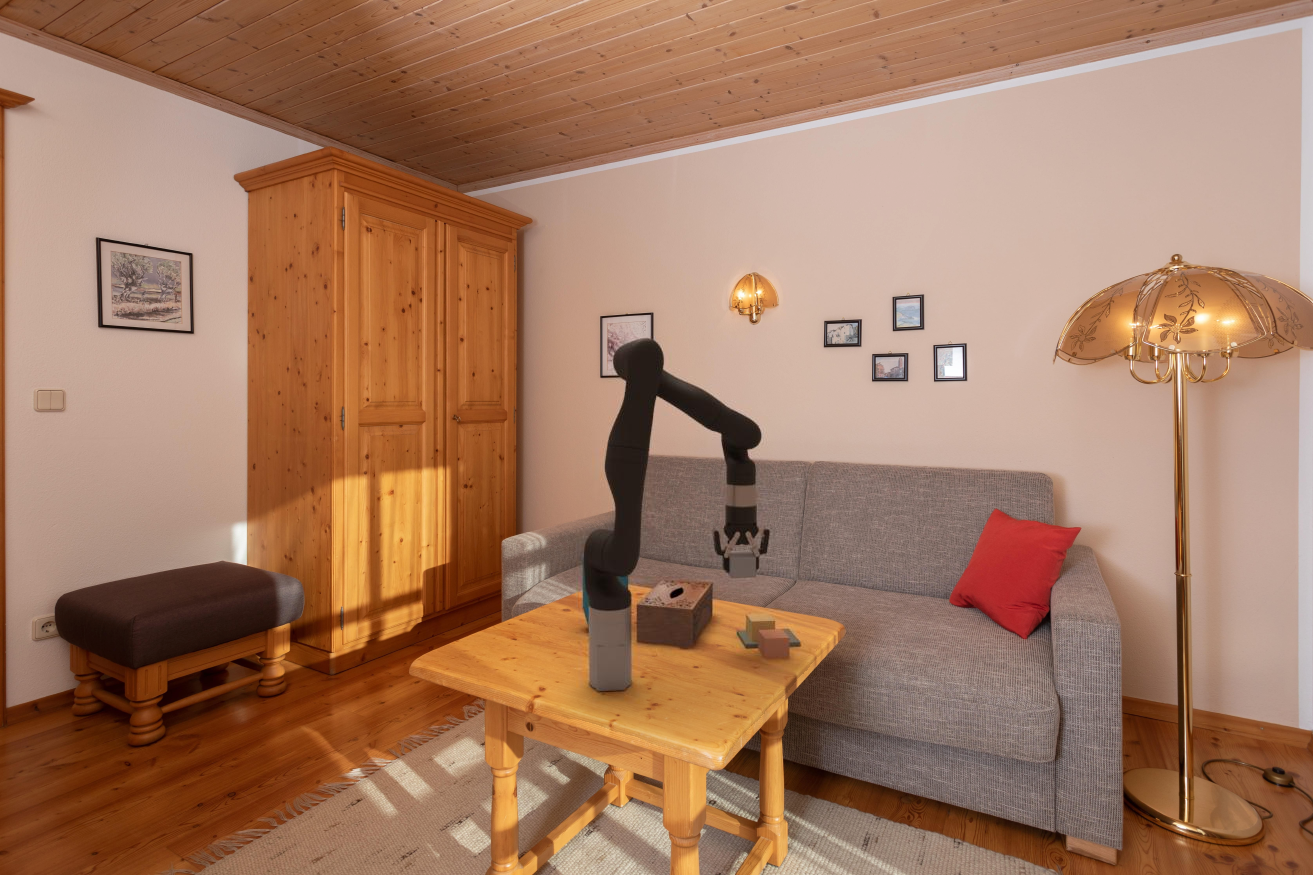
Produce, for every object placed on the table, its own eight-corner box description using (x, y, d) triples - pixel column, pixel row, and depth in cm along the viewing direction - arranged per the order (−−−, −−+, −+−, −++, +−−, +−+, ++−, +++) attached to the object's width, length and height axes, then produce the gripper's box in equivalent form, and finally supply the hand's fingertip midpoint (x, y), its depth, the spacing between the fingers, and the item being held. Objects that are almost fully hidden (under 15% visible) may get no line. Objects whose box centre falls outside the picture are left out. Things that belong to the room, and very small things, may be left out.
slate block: (755, 577, 162) (755, 556, 162) (730, 578, 161) (731, 557, 161) (749, 570, 168) (750, 550, 168) (726, 571, 167) (726, 551, 167)
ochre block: (774, 640, 171) (775, 620, 171) (751, 640, 171) (751, 621, 170) (768, 631, 177) (768, 612, 177) (745, 632, 177) (746, 613, 176)
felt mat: (800, 645, 170) (800, 641, 170) (745, 648, 169) (745, 644, 169) (788, 632, 180) (788, 628, 180) (736, 634, 179) (736, 630, 178)
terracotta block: (789, 658, 163) (789, 637, 162) (764, 659, 162) (764, 638, 162) (781, 648, 168) (782, 629, 168) (758, 649, 168) (758, 629, 167)
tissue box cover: (663, 612, 197) (663, 578, 197) (712, 617, 193) (712, 582, 193) (636, 643, 173) (636, 604, 172) (692, 649, 169) (692, 609, 168)
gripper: (714, 505, 159) (714, 576, 160) (774, 504, 161) (774, 574, 162) (708, 500, 167) (708, 568, 168) (766, 499, 168) (765, 566, 169)
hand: (740, 571), depth 165 cm, fingers closed on slate block, 6 cm apart
